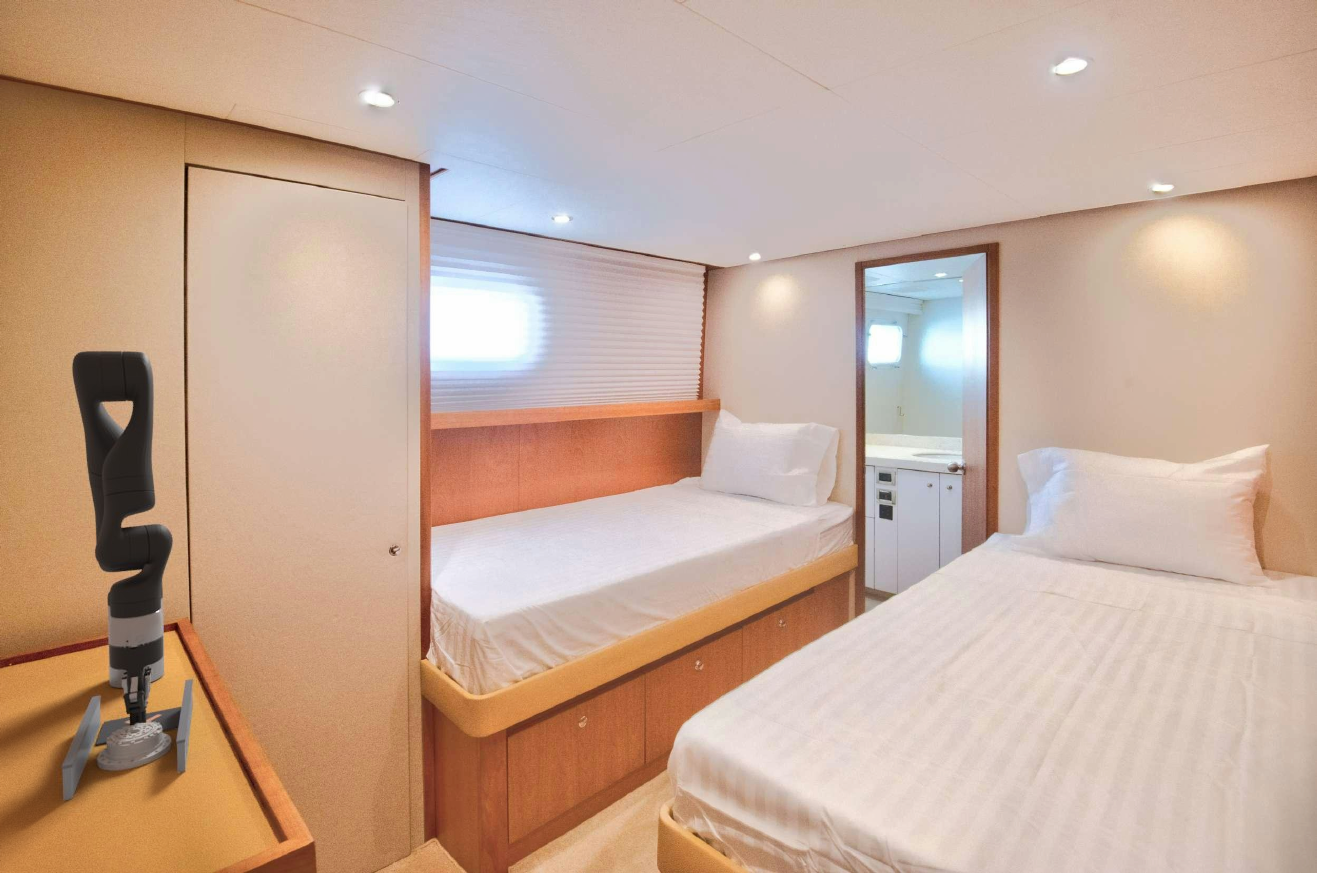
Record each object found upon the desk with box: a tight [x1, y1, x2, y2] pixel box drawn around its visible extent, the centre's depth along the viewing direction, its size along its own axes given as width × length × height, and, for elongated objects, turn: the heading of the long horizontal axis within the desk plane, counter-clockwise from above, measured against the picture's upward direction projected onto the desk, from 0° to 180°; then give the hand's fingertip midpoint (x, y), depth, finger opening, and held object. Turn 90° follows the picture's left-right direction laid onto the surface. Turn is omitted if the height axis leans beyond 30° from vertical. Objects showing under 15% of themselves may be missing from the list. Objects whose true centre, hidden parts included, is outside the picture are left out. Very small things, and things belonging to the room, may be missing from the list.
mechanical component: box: [96, 721, 172, 771], centre depth 111 cm, size 10×4×10 cm
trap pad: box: [95, 706, 182, 747], centre depth 120 cm, size 9×12×1 cm
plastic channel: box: [61, 678, 194, 802], centre depth 112 cm, size 26×15×6 cm, turn 34°
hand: (138, 729), depth 115 cm, fingers closed
